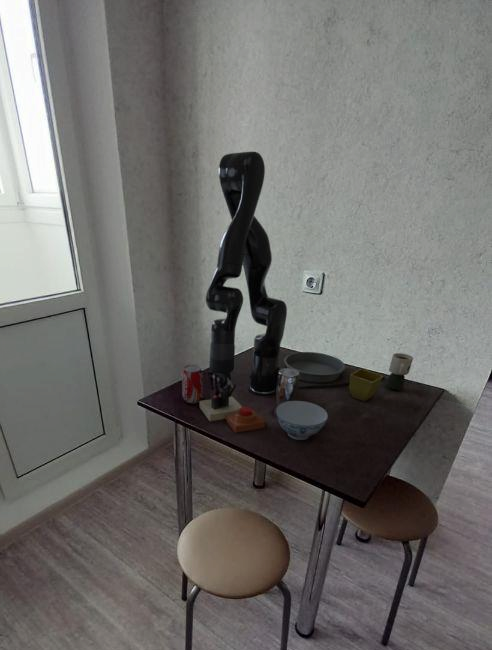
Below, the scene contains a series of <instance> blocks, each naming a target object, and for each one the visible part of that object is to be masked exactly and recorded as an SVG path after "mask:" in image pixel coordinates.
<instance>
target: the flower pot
mask: <svg viewBox="0 0 492 650" xmlns="http://www.w3.org/2000/svg"><path fill="white" fill-rule="evenodd" d="M383 377H384V375H382V374H379V373H376V372H374V371H370V370H367V369H363V368H359V369H357V370H356V371H354V372H352V373H351V374H350V375H349V382H350V384H348V389H349V393H350V396H351V397H352V398H354V399H356V400H359V401H362V402H366V401H368V400H370V399H371V398H372V397H373V396H374V395H375V394H376V392H377V391H378V389H379V388H380V385H381V382H382V381H383V379H382V378H383Z"/></svg>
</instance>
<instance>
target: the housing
mask: <svg viewBox="0 0 492 650" xmlns="http://www.w3.org/2000/svg"><path fill="white" fill-rule="evenodd" d="M225 421H226V423H227V424H228V425H229V427H230V428H231V429H232V430H233V431H234V432H235V433H241V432H247V431H252V430H259V429H264V428H266V421H265V420H264V418H262V416H260V414H259V413H258V412H256V410H254V409H252V414H251V416H242V415H240V409H238V410H236V412H235V413H233V414H227V415H226V419H225Z"/></svg>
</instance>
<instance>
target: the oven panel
mask: <svg viewBox="0 0 492 650" xmlns="http://www.w3.org/2000/svg"><path fill="white" fill-rule="evenodd" d="M211 404H212V398H211V399H204V400H203V399H202V400H201V401H199V409H200V410H201V411H202V413H203V414H204V415H205V417H206V418H207V420H208V421H209V422H215V421H220V420H226V415H227V414H233V413H235V412H236V410H238V409H240V408H241V407H243V406H242V405H241V403H239V402H238V400H236V398H235V397H233V396H232V395H231V397H229V406H226V407H222V408H218V409H213V408H212V407H211Z"/></svg>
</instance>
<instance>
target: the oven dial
mask: <svg viewBox="0 0 492 650" xmlns="http://www.w3.org/2000/svg"><path fill="white" fill-rule="evenodd" d="M211 399H212V404H211V407H212V408H213V409H218V408H220V407H219V395H215V394H213V395H212V396H211ZM226 406H229V397H227V398H226ZM226 406H225V407H226Z"/></svg>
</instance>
